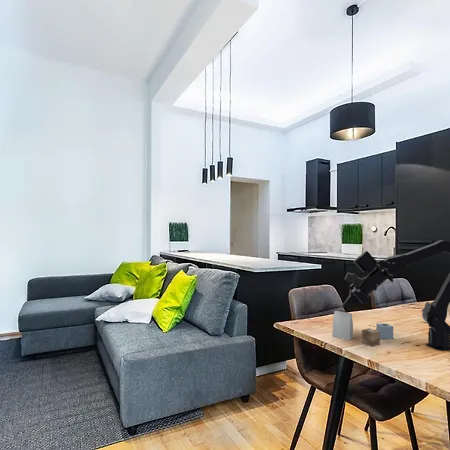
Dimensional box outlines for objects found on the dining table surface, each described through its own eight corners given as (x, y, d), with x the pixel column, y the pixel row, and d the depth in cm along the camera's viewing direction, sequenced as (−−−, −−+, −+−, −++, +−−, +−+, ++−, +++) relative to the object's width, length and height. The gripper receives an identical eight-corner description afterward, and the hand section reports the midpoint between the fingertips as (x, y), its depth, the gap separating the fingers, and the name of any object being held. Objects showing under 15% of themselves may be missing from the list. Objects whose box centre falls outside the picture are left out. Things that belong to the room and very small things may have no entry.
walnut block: (379, 344, 122) (379, 330, 122) (372, 346, 120) (372, 332, 120) (368, 341, 126) (368, 327, 126) (361, 343, 123) (361, 329, 124)
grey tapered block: (349, 340, 127) (349, 314, 127) (332, 336, 131) (332, 311, 131) (352, 338, 130) (352, 312, 130) (336, 334, 134) (336, 310, 134)
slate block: (393, 339, 129) (393, 326, 129) (382, 339, 129) (382, 326, 129) (387, 335, 133) (387, 323, 134) (376, 335, 133) (376, 322, 133)
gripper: (355, 264, 138) (327, 288, 141) (359, 268, 121) (328, 296, 124) (375, 283, 136) (347, 308, 139) (383, 290, 118) (350, 318, 121)
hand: (342, 307), depth 131 cm, fingers closed
